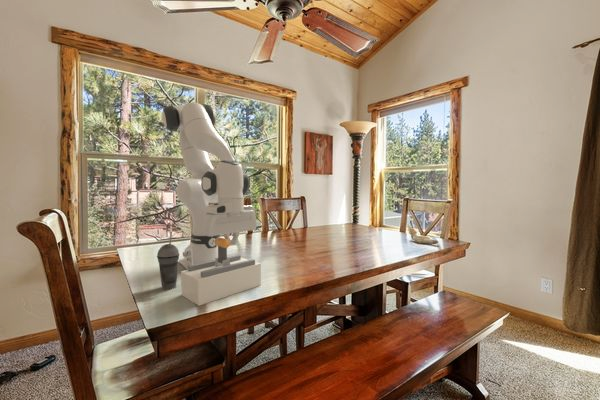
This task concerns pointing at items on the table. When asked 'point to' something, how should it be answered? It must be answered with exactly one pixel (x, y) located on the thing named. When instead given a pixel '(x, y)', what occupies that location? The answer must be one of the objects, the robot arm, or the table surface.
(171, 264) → the beverage cup
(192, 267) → the grey slotted rail
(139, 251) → the table surface
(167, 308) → the table surface
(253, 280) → the box
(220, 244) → the lever
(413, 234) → the lying animal figurine
